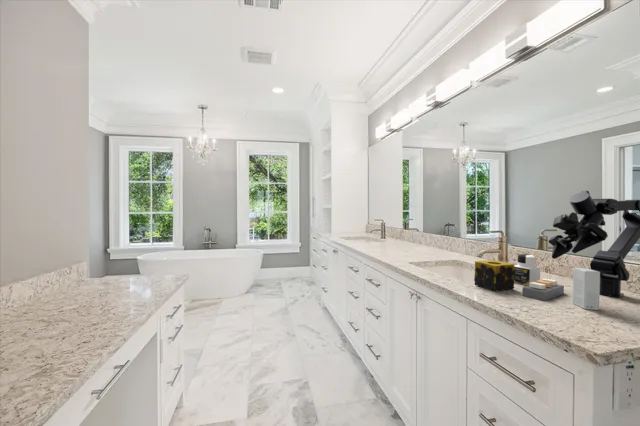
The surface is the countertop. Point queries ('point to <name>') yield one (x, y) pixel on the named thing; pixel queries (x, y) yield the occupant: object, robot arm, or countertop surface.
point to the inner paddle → (550, 281)
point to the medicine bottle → (526, 270)
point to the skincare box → (586, 288)
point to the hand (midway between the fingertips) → (562, 255)
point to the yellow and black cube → (494, 275)
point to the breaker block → (543, 292)
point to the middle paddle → (548, 284)
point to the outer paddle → (537, 285)
